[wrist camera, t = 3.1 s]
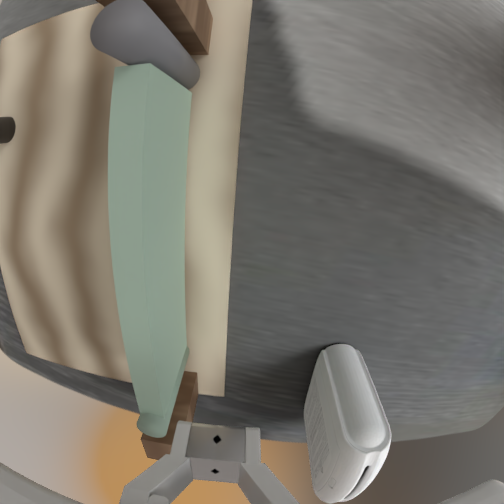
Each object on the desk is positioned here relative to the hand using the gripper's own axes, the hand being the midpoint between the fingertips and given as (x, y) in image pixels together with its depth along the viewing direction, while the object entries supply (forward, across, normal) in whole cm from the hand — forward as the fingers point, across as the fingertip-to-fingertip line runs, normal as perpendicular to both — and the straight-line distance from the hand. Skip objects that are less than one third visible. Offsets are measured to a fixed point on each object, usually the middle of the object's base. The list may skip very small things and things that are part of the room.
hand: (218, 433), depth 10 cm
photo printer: (+14, -10, +10) cm, 20 cm away
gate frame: (+14, +13, -5) cm, 19 cm away
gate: (+13, +5, -4) cm, 14 cm away
